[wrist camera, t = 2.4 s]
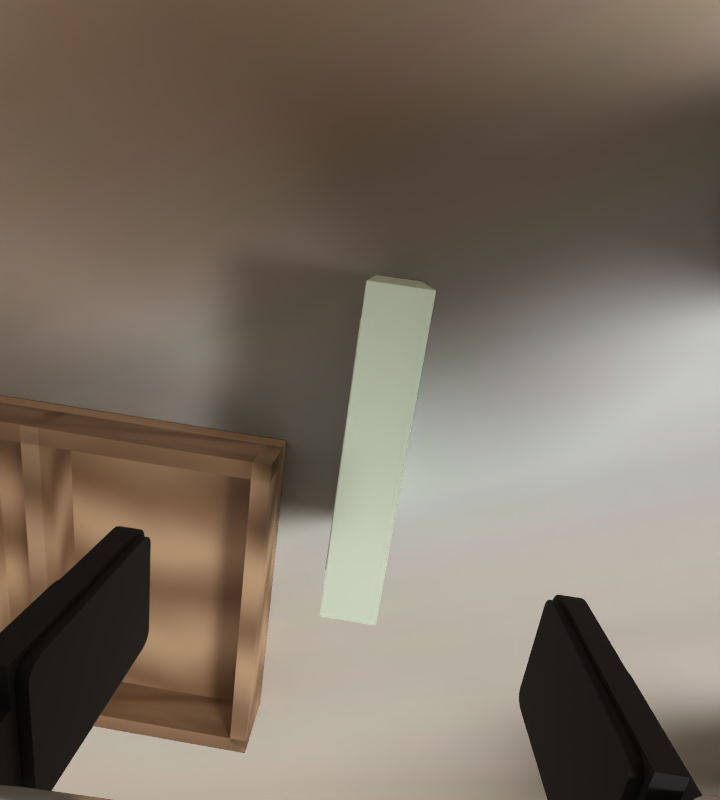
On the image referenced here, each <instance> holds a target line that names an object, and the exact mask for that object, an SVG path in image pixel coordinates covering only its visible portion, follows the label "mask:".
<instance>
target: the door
mask: <svg viewBox="0 0 720 800" xmlns="http://www.w3.org/2000/svg"><path fill="white" fill-rule="evenodd" d="M435 295H436V290H434V289H433V288H431V287H430V286H428V285H427V284H425V283H423V282H422V281H415V280H408V279H401V278H394V277H387V276H381V275H375V276H374V277H372V278H370V279H368V280H367V281H366V288H365V295H364V302H363V309H362V316H361V319H360V324H359V331H358V338H357V345H356V353H355V360H354V367H353V374H352V382H351V389H350V396H349V403H348V410H347V418H346V425H345V432H344V439H343V446H342V454H341V461H340V468H339V475H338V482H337V490H336V497H335V504H334V511H333V518H332V526H331V533H330V540H329V547H328V555H327V562H326V575H325V582H324V589H323V596H322V604H321V611H320V616H321V617H327V618H333V619H339V620H345V621H351V622H357V623H363V624H369V625H375V626H376V620H377V615H378V609H379V604H380V598H381V593H382V587H383V582H384V576H385V571H386V565H387V559H388V554H389V548H390V543H391V537H392V532H393V526H394V521H395V515H396V510H397V504H398V499H399V493H400V488H401V482H402V477H403V471H404V466H405V460H406V455H407V449H408V444H409V438H410V433H411V427H412V421H413V416H414V410H415V405H416V399H417V394H418V388H419V383H420V377H421V372H422V366H423V361H424V355H425V350H426V344H427V339H428V333H429V328H430V322H431V317H432V311H433V306H434V300H435Z"/></svg>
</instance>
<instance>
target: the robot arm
mask: <svg viewBox="0 0 720 800" xmlns="http://www.w3.org/2000/svg"><path fill="white" fill-rule="evenodd" d="M150 555H151V540H150V538H149V537H145V535H144V531H143V530H141V529H135V528H129V527H123V526H116V527H115V528H113V529H112V530H111V531H110V532H109V533H108V534H107V535H106V536H105V537H104V538H103V539H102V540H101V541H100V542H99V543H98V544H96V545H95V546H94V547H93V548H92V549H91V550H90V551H89V552H88V553H87V554H86V555H85V556H84V557H83V558H82V559H81V560H80V561H79V562H77V563H76V564H75V565H74V566H73V567H72V568H71V569H70V570H69V571H68V572H67V573H66V574H65V575H64V576H63V577H62V578H61V579H59V580H57V581H56V582H54V583H53V584H52V585H50V586H49V587H48V588H47V589H46V590H45V591H44V592H43V593H42V594H41V595H40V596H39V597H38V598H37V599H36V600H34V601H33V602H32V603H31V604H30V605H29V606H28V607H27V608H26V609H25V610H24V611H23V612H22V613H21V614H20V615H19V616H17V617H16V618H15V619H14V620H13V621H12V622H11V623H10V624H9V625H8V626H7V627H6V628H5V629H4V630H3V631H2V632H0V800H111V799H104V798H97V797H90V796H83V795H76V794H69V793H61V792H54V791H51V790H52V789H53V787H54V786H55V784H56V783H57V781H58V780H59V778H60V777H61V775H62V773H63V772H64V770H65V769H66V767H67V766H68V764H69V763H70V761H71V759H72V758H73V756H74V755H75V753H76V752H77V750H78V749H79V747H80V745H81V744H82V742H83V741H84V739H85V738H86V736H87V735H88V733H89V731H90V730H91V728H92V727H93V725H94V724H95V722H96V721H97V719H98V717H99V716H100V714H101V713H102V711H103V710H104V708H105V707H106V705H107V704H108V702H109V700H110V699H111V697H112V696H113V694H114V693H115V691H116V690H117V688H118V686H119V685H120V683H121V682H122V680H123V679H124V677H125V676H126V674H127V672H128V671H129V669H130V668H131V666H132V665H133V663H134V662H135V660H136V658H137V657H138V655H139V654H140V652H141V651H142V649H143V647H144V646H145V643H146V641H147V638H148V633H149V605H150ZM519 703H520V709H521V713H522V716H523V719H524V723H525V726H526V729H527V732H528V736H529V739H530V742H531V746H532V749H533V752H534V756H535V759H536V762H537V766H538V769H539V772H540V776H541V779H542V782H543V786H544V789H545V792H546V796H547V799H548V800H720V797H717V796H709V795H703V796H702V794H701V792H700V791H699V789H698V787H697V786H696V784H695V782H694V781H693V779H692V777H691V776H690V774H689V772H688V771H687V769H686V767H685V766H684V764H683V762H682V761H681V759H680V757H679V756H678V754H677V752H676V751H675V749H674V747H673V746H672V744H671V742H670V740H669V739H668V737H667V735H666V734H665V732H664V730H663V729H662V727H661V725H660V724H659V722H658V720H657V719H656V717H655V715H654V714H653V712H652V710H651V709H650V707H649V705H648V704H647V702H646V700H645V699H644V697H643V695H642V694H641V692H640V690H639V688H638V687H637V685H636V683H635V682H634V680H633V678H632V677H631V675H630V674H629V673H628V671H627V670H626V668H625V667H624V665H623V663H622V662H621V660H620V658H619V657H618V655H617V653H616V652H615V650H614V648H613V647H612V645H611V643H610V641H609V640H608V638H607V636H606V635H605V633H604V631H603V630H602V628H601V626H600V625H599V623H598V621H597V620H596V618H595V616H594V614H593V613H592V611H591V609H590V608H589V606H588V604H587V603H586V601H585V600H584V599H582V598H576V597H570V596H563V595H556V596H555V597H554V599H553V600H548V601H547V602H546V604H545V606H544V610H543V613H542V616H541V620H540V623H539V627H538V630H537V633H536V637H535V640H534V644H533V647H532V650H531V654H530V657H529V661H528V664H527V667H526V671H525V674H524V677H523V681H522V684H521V688H520V692H519Z"/></svg>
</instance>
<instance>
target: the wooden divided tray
mask: <svg viewBox="0 0 720 800" xmlns="http://www.w3.org/2000/svg"><path fill="white" fill-rule="evenodd" d="M286 443H287V441H285V440H278V439H272V438H266V437H259V436H253V435H247V434H240V433H234V432H228V431H221V430H215V429H209V428H202V427H196V426H190V425H183V424H177V423H171V422H165V421H158V420H152V419H146V418H139V417H133V416H127V415H120V414H114V413H108V412H101V411H95V410H89V409H82V408H76V407H70V406H63V405H57V404H51V403H44V402H38V401H32V400H25V399H19V398H13V397H6V396H0V632H2V631H3V630H4V629H5V628H6V627H7V626H8V625H9V624H10V623H11V622H12V621H13V620H14V619H15V618H16V617H17V616H19V615H20V614H21V613H22V612H23V611H24V610H25V609H26V608H27V607H28V606H29V605H30V604H31V603H32V602H33V601H34V600H36V599H37V598H38V597H39V596H40V595H41V594H42V593H43V592H44V591H45V590H46V589H47V588H48V587H49V586H50V585H52V584H53V583H54V582H56V581H57V580H59V579H61V578H62V577H63V576H64V575H65V574H66V573H67V572H68V571H69V570H70V569H71V568H72V567H73V566H74V565H75V564H76V563H77V562H79V561H80V560H81V559H82V558H83V557H84V556H85V555H86V554H87V553H88V552H89V551H90V550H91V549H92V548H93V547H94V546H95V545H96V544H98V543H99V542H100V541H101V540H102V539H103V538H104V537H105V536H106V535H107V534H108V533H109V532H110V531H111V530H112V529H113V528H115V527H116V526H123V527H129V528H135V529H141V530H143V531H144V535H145V537H149V538H150V540H151V555H150V605H149V633H148V638H147V641H146V643H145V646H144V647H143V649H142V651H141V652H140V654H139V655H138V657H137V658H136V660H135V662H134V663H133V665H132V666H131V668H130V669H129V671H128V672H127V674H126V676H125V677H124V679H123V680H122V682H121V683H120V685H119V686H118V688H117V690H116V691H115V693H114V694H113V696H112V697H111V699H110V700H109V702H108V704H107V705H106V707H105V708H104V710H103V711H102V713H101V714H100V716H99V717H98V719H97V721H96V722H95V724H94V725H93V726H96V727H102V728H107V729H113V730H119V731H124V732H130V733H135V734H141V735H147V736H152V737H158V738H163V739H169V740H175V741H180V742H186V743H191V744H197V745H203V746H208V747H214V748H219V749H225V750H231V751H236V752H242V753H245V750H246V747H247V744H248V741H249V737H250V734H251V731H252V728H253V724H254V721H255V718H256V715H257V711H258V708H259V705H260V698H261V688H262V678H263V668H264V658H265V649H266V639H267V629H268V619H269V610H270V600H271V590H272V580H273V570H274V561H275V551H276V541H277V531H278V521H279V512H280V502H281V492H282V482H283V472H284V463H285V453H286Z"/></svg>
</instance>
